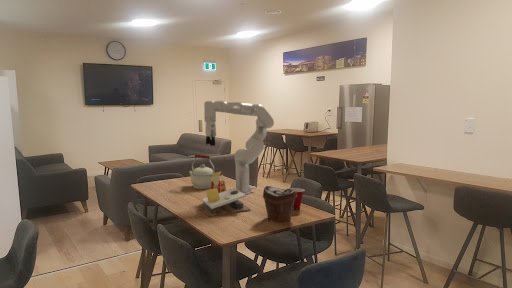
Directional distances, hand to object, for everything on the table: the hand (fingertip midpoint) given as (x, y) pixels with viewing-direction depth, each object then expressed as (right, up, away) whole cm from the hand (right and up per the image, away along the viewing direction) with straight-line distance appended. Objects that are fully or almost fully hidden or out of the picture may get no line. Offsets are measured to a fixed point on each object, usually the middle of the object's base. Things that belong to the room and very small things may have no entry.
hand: (210, 144), depth 244 cm
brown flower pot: (+44, -42, -41) cm, 73 cm away
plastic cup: (+55, -39, -22) cm, 71 cm away
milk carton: (+6, -37, -5) cm, 38 cm away
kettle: (-11, -33, +35) cm, 49 cm away
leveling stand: (+12, -39, -24) cm, 47 cm away
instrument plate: (+11, -33, -25) cm, 43 cm away
